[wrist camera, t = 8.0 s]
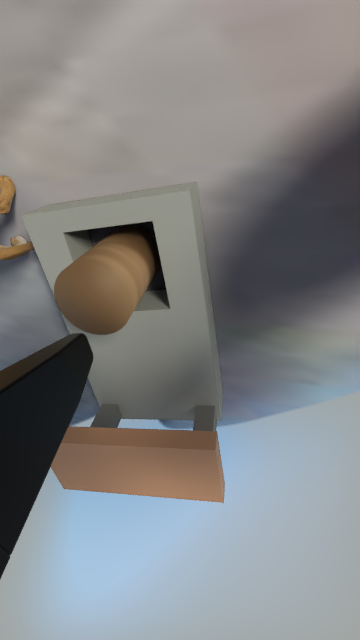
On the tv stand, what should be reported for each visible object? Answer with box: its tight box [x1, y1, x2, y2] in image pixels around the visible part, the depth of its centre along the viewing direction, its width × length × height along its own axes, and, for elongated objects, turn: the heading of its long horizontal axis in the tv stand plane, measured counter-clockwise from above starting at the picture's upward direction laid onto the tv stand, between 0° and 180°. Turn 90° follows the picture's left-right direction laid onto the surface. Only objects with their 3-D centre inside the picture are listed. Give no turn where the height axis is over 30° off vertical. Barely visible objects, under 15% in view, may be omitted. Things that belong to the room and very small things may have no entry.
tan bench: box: [51, 404, 225, 503], centre depth 22 cm, size 11×5×9 cm, turn 99°
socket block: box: [21, 182, 223, 421], centre depth 22 cm, size 10×17×3 cm, turn 9°
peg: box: [54, 225, 161, 335], centre depth 18 cm, size 4×4×7 cm
